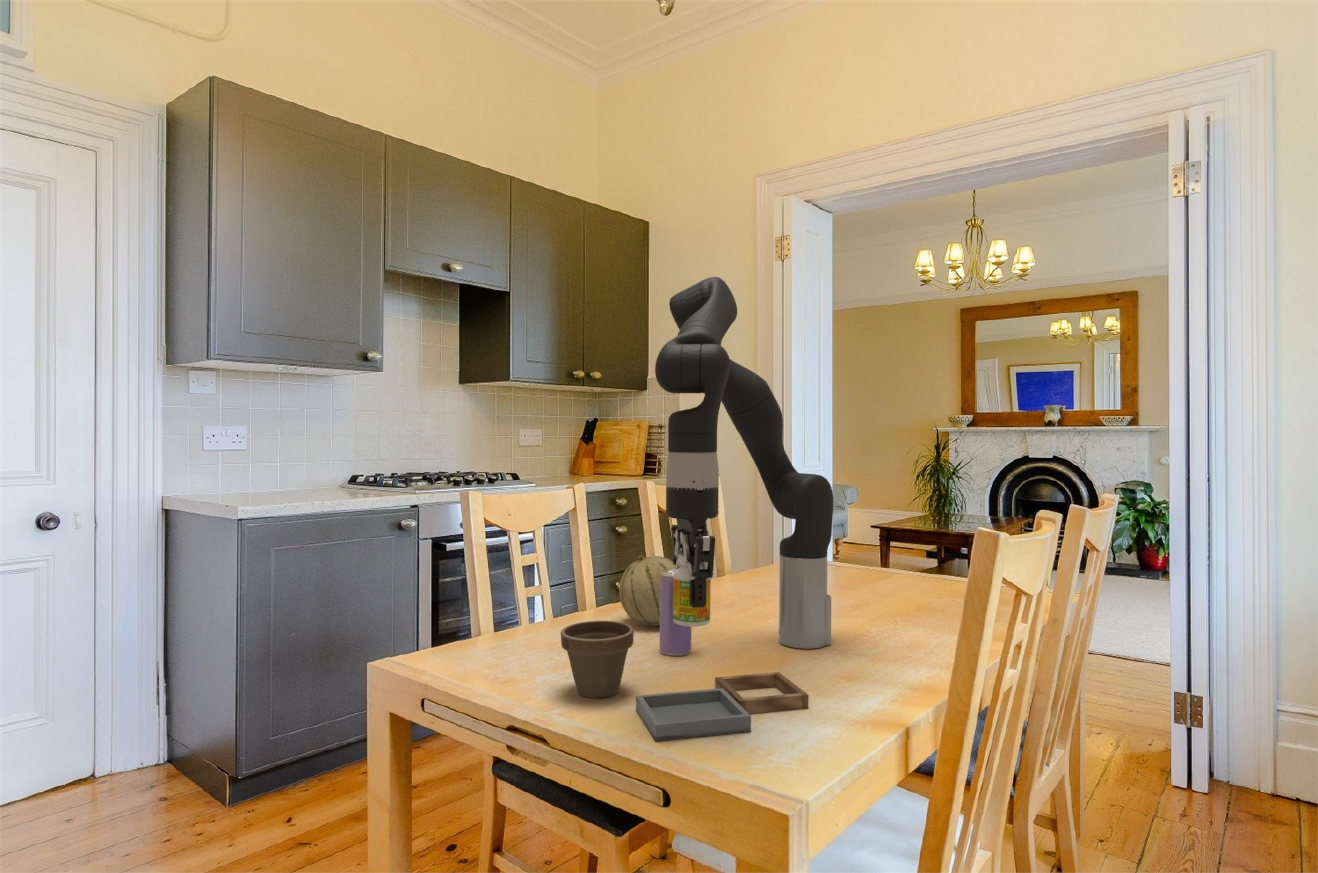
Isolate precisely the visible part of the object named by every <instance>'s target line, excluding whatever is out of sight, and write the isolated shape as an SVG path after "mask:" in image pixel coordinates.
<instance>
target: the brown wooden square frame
mask: <svg viewBox="0 0 1318 873" xmlns="http://www.w3.org/2000/svg"><path fill="white" fill-rule="evenodd" d="M720 688H723V689H724V690H725V691H726V692H727V693H728V694H729V695H730V696H731V697H732V698H733V699H734V700H735V701H736V702H737V703H738V704H739V705H740V706H741V707H743V708H744V709H745V710H746V711H747V712H748V713H749V714H750V715H751V714H759V713H760V714H761V713H770V712H781V711H782V712H783V711H792V710H793V711H794V710H801V709H802V710H803V709H809V703H810V702H809V697H810V696H809V694H808V693H807V692H806V691H804V690H803V689H801V688H800V687H799V686H798V685H796V684H795V683H794V682H792V681H791V680H790V679H789V678H788V677H786V676H784V675H783V674H782V673H781V672H778V671H777V672H766V673H753V674H740V675H731V676H730V675H728V676H718V677H717V676H716V677H714V689H720ZM766 688H767V689H768V688H776V689H778V690H779V691H780V692H781V693H782V694H777V695H765V696H764V695H763V696H752V697H743V696H742V695H741V694H740V693H739V692H738V691H743V690H755V689H766Z"/></svg>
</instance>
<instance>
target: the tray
mask: <svg viewBox="0 0 1318 873" xmlns="http://www.w3.org/2000/svg"><path fill="white" fill-rule="evenodd" d="M635 711H636V713H637V714H638V716H639V718H640V719H641V721H642V722H643V724H644V726H645V727H646V729H647V730H648V731H649V733H650V735H651V736H652V739H653V740H654V741H655V742H661V741H662V742H663V741H664V742H665V741H673V740H675V741H676V740H683V739H684V740H685V739H693V738H703V737H712V736H722V735H732V734H741V733H742V734H743V733H751V732H752V715H751V714H749V713H748V712H747V711H746V710H745V709H744V708H743V707H741V706H740V705H739V704H738V703H737V702H736V701H735V700H734V699H733V698H732V697H731V696H730V695H729V694H728V693H727V692H726V691H725V690H724V689H723V688H720V689H715V688H710V689H699V690H698V689H696V690H687V691H675V692H674V691H673V692H664V693H651V694H650V693H649V694H641V695H636V696H635Z"/></svg>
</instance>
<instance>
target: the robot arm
mask: <svg viewBox="0 0 1318 873" xmlns="http://www.w3.org/2000/svg"><path fill="white" fill-rule="evenodd" d="M668 304H669V311H670V313H671V316H672V318H673V320H674V322H675V324H676V326H677V328H678V330H679V331H678V333H677V335H676V336H675V337H673V338H671V339H669V341H667V342H666V343H665V344H664V345H663V347H662V348H661V349H660V351H659V352H658V354H657V357H656V359H655V366H654V374H655V378H656V381H657V383H658V385H659V387H661V389H662V390H663V391H665V392H667V393H670V394H704V397H703V400H702V401H701V402H700V403H699V404H698V405H697V406H695V407H692V408H687V409H682V410H678V411H674V412H672V413H671V414H670V415H669V418H668V421H667V434H668V435H667V440H668V441H667V443H668V445H667V451H668V452H667V459H666V468H665V514H666V516H667V517H668V518H671V519H677V524H672V525H671V527H670V531H671V550H672V551H671V553H672V560H671V561H672V562H673V565H676V570H677V569H679V568H680V565H679V564H678V555H679V554H681V553H683V554H684V561H685V564H687V565H688V566H689V578H690V605H691V606H692V607H693V608H697V607H705V606H706V580H708V578H711V579H712V578H713V576H714V566H715V565H714V562H715V552H716V551H715V549H716V548H715V547H716V537H715V536H714V535H710V533H709V531H708V525H707V521H708V520H709V519H714V518H717V517H718V516H719V491H720V490H719V480H720V478H719V475H720V471H719V461H718V460H719V459H718V422H719V413H720V409H721V404H722V405H723V408H724V409H725V411H726V413H727V415H728V417H729V419H730V420H731V422H732V425H734V427H735V429H736V431H737V433H738V435H739V436H740V437H741V439H742V441H743V444H744V446H745V447H746V449H747V451H748V453H749V455H750V458H752V460H753V462H754V464H755V466H756V468H757V470H758V472H759V475H760V477H761V480H762V483H763V485H764V487H765V489H766V492H767V494H768V497H769V500H770V502H771V504H772V506H773V507H774V509H775V510H776V512H778V514H779V515H781V516H782V517H784V518H786V519H791V520H795V521H794V523H795V524H794V531H793V533H792V534H791V535H789V536H788V537H787V536H786V537H785V538H783V539H781V540H780V542H779V586H778V587H779V591H778V592H779V597H778V598H779V600H778V601H779V605H778V606H779V608H778V610H779V614H778V615H779V617H778V621H779V622H778V623H779V624H778V641H779V643H780V644H782V646H786V647H790V648H794V649H795V648H796V649H811V650H812V649H820V648H823V647H826V646H830V645H832V596H831V595H830V594H828V551H829V550H828V549H829V546H830V543H831V539H832V532H833V519H834V518H833V517H834V516H833V515H834V494H833V492H834V491H833V489H832V485H831V483H830V482H829V480H828V478H826V477H824V476H823V475H820V474H816V473H802V472H798V471H797V470H796V468H795V467H794V466H793V463H792V462H791V461H790V458H789V456H788V454H787V452H786V451H785V446H784V441H783V440H784V439H783V435H784V434H783V433H784V418H783V414H782V410H781V407H780V405H779V403H778V401H777V399H776V397H775V395H774V393H773V391H772V390H771V387H770V386H769V384H768V382H767V381H766V380H765V379H764V378H763V377H761V376H760V375H759V374H757V373H755V372H753V371H752V370H750V369H749V368H747V367H745V366H743V365H742V364H740V363H737V362H736V361H734V360H733V359H731V358H730V355H729V354H728V352H727V350H726V349H725V348H724V347H723V346H722V342H723V339H724V338H725V335H726V334H727V332H728V331H729V329H730V328H731V326H732V325H733V324H734V322H735V321H736V319H737V316H738V307H737V306H738V305H737V301H736V300H735V297H734V294H733V293H732V290H731V289H730V287H729V285H728V284H727V283H726V282H725V281H724V279H722V278H721V277H718V276H711V277H707V278H705V279H702V280H700V281H698V282H697V283H695V284H693V285H691V286H689V287H687V288H685V289H683V290H681V291H679V292H678V293H676V294H674V295H673V296H671V297H670V299H669V303H668ZM691 556H694V557H691ZM700 564H701V565H702V569H700Z"/></svg>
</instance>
